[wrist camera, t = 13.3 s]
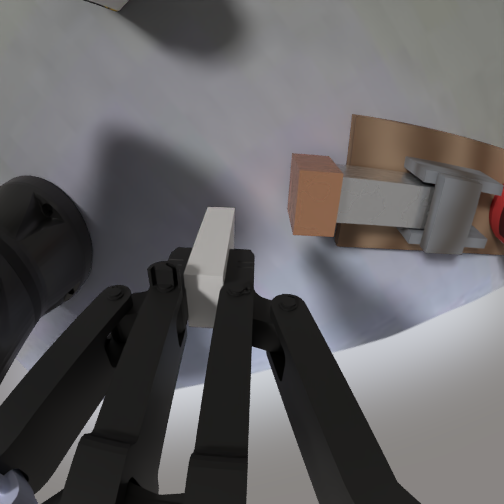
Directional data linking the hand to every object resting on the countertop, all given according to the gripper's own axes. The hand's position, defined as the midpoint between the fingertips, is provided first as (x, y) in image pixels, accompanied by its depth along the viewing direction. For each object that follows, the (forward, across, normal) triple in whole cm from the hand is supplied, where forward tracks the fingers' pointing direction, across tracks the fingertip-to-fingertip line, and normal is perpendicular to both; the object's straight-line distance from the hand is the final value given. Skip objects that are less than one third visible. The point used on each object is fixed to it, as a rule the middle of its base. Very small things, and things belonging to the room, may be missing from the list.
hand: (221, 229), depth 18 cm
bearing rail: (+11, +23, 0) cm, 25 cm away
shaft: (+9, +12, 0) cm, 15 cm away
